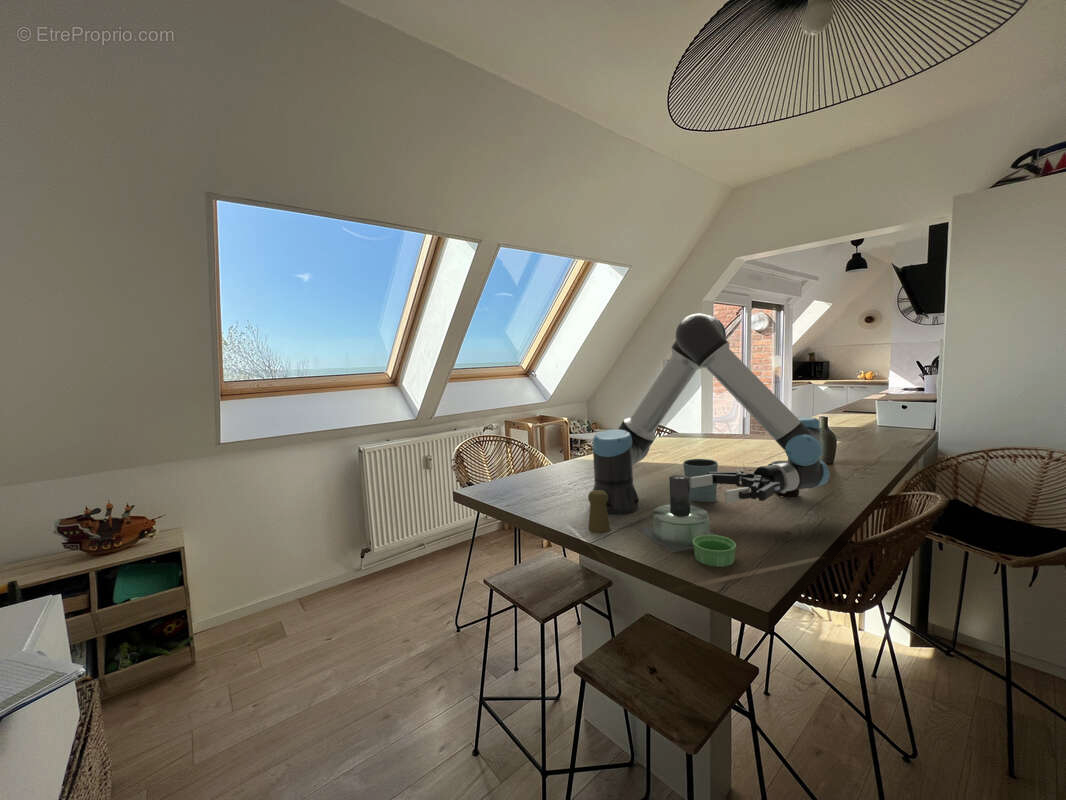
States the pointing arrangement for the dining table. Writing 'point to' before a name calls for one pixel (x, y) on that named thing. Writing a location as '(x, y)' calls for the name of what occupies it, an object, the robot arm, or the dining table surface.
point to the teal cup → (699, 469)
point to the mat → (670, 547)
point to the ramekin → (714, 550)
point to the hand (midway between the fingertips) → (707, 489)
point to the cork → (598, 512)
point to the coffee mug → (787, 493)
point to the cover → (680, 516)
